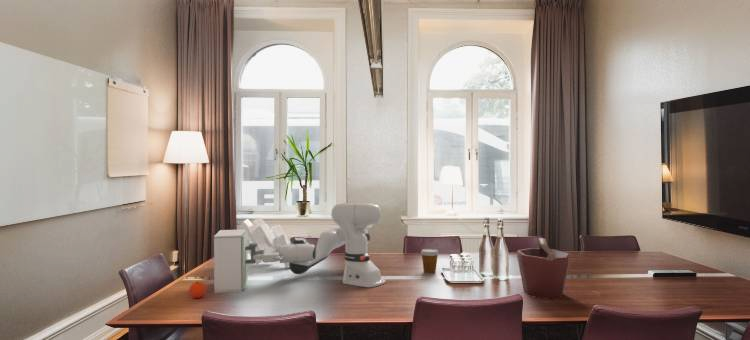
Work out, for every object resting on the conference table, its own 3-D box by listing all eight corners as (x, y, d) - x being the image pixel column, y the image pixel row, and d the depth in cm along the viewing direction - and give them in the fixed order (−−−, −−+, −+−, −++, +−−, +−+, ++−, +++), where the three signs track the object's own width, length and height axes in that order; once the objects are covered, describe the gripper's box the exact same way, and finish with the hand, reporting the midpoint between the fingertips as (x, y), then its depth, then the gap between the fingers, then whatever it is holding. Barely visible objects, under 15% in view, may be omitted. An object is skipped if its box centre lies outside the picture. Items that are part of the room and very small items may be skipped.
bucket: (565, 305, 182) (565, 245, 182) (511, 297, 193) (511, 241, 192) (570, 290, 203) (571, 236, 203) (522, 283, 214) (522, 233, 214)
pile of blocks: (300, 268, 265) (284, 216, 276) (297, 260, 237) (280, 202, 248) (243, 288, 257) (229, 233, 268) (233, 281, 229) (218, 220, 240)
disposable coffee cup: (418, 273, 233) (418, 251, 233) (423, 269, 242) (423, 248, 242) (436, 275, 230) (436, 252, 230) (440, 271, 239) (440, 249, 238)
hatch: (258, 278, 220) (258, 229, 220) (255, 288, 202) (255, 235, 201) (245, 278, 219) (245, 230, 219) (242, 289, 200) (241, 236, 200)
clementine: (203, 293, 197) (203, 278, 197) (211, 296, 193) (211, 280, 193) (186, 297, 191) (186, 281, 191) (194, 301, 187) (194, 284, 187)
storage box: (245, 280, 218) (245, 229, 218) (241, 291, 201) (241, 235, 200) (220, 282, 216) (219, 230, 216) (214, 292, 198) (213, 236, 198)
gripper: (282, 265, 204) (252, 266, 201) (283, 255, 224) (255, 256, 221) (282, 251, 203) (252, 253, 201) (283, 243, 223) (255, 244, 221)
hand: (253, 254), depth 211 cm, fingers open, 8 cm apart
